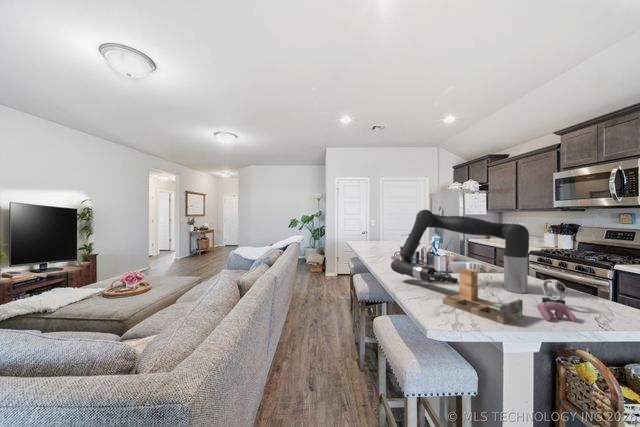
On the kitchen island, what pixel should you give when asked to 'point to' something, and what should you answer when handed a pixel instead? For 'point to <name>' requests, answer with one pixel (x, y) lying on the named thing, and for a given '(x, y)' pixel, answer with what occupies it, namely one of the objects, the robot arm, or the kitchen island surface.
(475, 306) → the board
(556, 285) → the watch
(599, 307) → the kitchen island surface
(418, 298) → the kitchen island surface
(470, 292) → the block
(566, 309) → the pink arched figurine
